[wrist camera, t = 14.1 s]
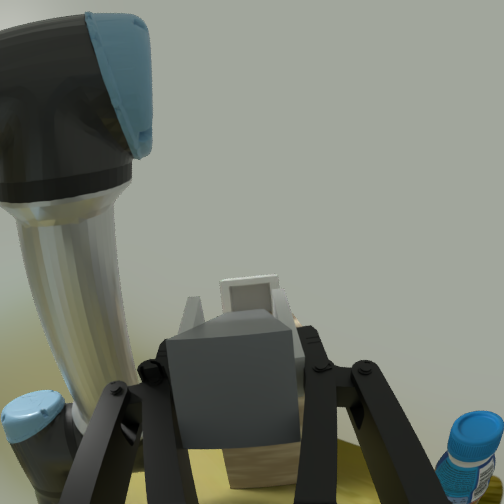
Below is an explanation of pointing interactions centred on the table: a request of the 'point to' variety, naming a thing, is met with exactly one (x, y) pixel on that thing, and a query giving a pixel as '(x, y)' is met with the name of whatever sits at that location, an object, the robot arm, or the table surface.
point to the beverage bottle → (470, 456)
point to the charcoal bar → (235, 382)
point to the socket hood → (248, 293)
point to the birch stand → (265, 460)
